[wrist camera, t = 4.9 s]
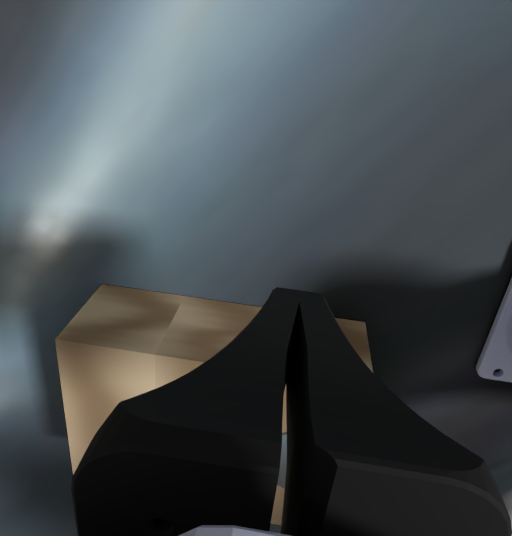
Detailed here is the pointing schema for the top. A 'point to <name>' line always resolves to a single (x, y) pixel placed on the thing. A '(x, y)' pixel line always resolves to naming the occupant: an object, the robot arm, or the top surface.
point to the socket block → (151, 355)
